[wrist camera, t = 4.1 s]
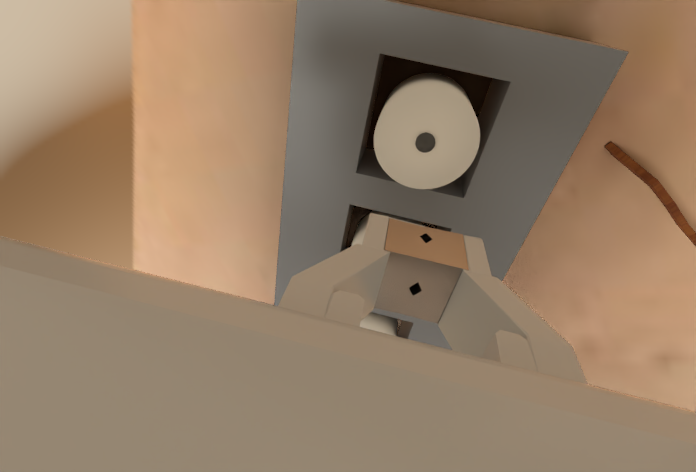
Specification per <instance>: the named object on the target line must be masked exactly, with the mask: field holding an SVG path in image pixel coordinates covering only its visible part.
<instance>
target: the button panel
mask: <svg viewBox="0 0 696 472" xmlns="http://www.w3.org/2000/svg"><path fill="white" fill-rule="evenodd" d="M627 54H628V51H624V50H620V49H617V48H613V47H610V46H606V45H602V44H599V43H595V42H592V41H587V40H582V39H577V38H572V37H568V36H563V35H558V34H553V33H549V32H544V31H539V30H534V29H529V28H525V27H520V26H515V25H510V24H506V23H501V22H496V21H491V20H486V19H482V18H477V17H472V16H467V15H463V14H458V13H453V12H448V11H443V10H439V9H434V8H429V7H424V6H420V5H415V4H410V3H405V2H400V1H396V0H297V11H296V24H295V37H294V50H293V64H292V77H291V90H290V103H289V117H288V130H287V143H286V156H285V170H284V183H283V196H282V209H281V223H280V236H279V249H278V263H277V276H276V289H275V302H274V305H275V306H278V305H279V303H280V301H281V299H282V296H283V294H284V292H285V290H286V288H287V286H288V284H289V282H290V280H291V278H292V276H294V275H296V274H298V273H300V272H302V271H304V270H306V269H308V268H310V267H312V266H314V265H316V264H318V263H320V262H322V261H324V260H326V259H328V258H330V257H332V256H334V255H336V254H338V253H339V252H341V251H343V250H345V249H347V247H345V246H346V241H347V236H348V231H349V227H350V222H351V217H352V212H353V207H354V205H355V206H359V207H363V208H367V209H371V210H376V211H380V212H384V213H388V214H392V215H396V216H400V217H405V218H409V219H413V220H417V221H421V222H425V223H430V224H434V225H438V226H437V229H439V230H444V231H449V232H453V233H458V234H463V235H467V236H472V237H477V238H481V239H482V240H483V243H484V247H485V251H486V255H487V259H488V263H489V267H490V271H491V275H492V276H493V277H497V278H498V279H500V280H501V281H502V280H503V278H504V277H505V275H506V273H507V271H508V269H509V268H510V266H511V264H512V262H513V260H514V259H515V257H516V255H517V253H518V251H519V249H520V248H521V246H522V244H523V242H524V240H525V239H526V237H527V235H528V233H529V231H530V230H531V228H532V226H533V224H534V222H535V221H536V219H537V217H538V215H539V213H540V212H541V210H542V208H543V206H544V204H545V202H546V201H547V199H548V197H549V195H550V193H551V192H552V190H553V188H554V186H555V184H556V183H557V181H558V179H559V177H560V175H561V174H562V172H563V170H564V168H565V166H566V165H567V163H568V161H569V159H570V157H571V155H572V154H573V152H574V150H575V148H576V146H577V145H578V143H579V141H580V139H581V137H582V136H583V134H584V132H585V130H586V128H587V127H588V125H589V123H590V121H591V119H592V118H593V116H594V114H595V112H596V110H597V108H598V107H599V105H600V103H601V101H602V99H603V98H604V96H605V94H606V92H607V90H608V89H609V87H610V85H611V83H612V81H613V80H614V78H615V76H616V74H617V72H618V71H619V69H620V67H621V65H622V63H623V61H624V60H625V58H626V56H627ZM385 55H389V56H394V57H399V58H403V59H408V60H412V61H417V62H422V63H426V64H431V65H435V66H440V67H445V68H449V69H454V70H458V71H463V72H468V73H472V74H477V75H481V76H486V77H491V78H493V79H492V81H491V84H490V87H489V89H488V92H487V95H486V97H485V100H484V103H483V105H482V108H481V111H480V113H479V116H478V123H479V127H480V143H479V148H478V151H477V154H476V156H475V158H474V160H473V162H472V164H471V165H470V167H469V168H468V169H467V170H466V171H465V172H464V173H463V174H462V175H461V176H460V177H458V178H457V179H456V180H454V181H452V182H451V183H449V184H447V185H444V186H441V187H438V188H433V189H415V188H410V187H407V186H404V185H402V184H400V183H398V182H396V181H395V180H393V179H392V178H391V177H389V175H388V174H387V173H386V172H385V171H384V170H383V169H382V167H381V166H380V164H379V162H378V160H377V157H376V154H375V150H373V149H369V148H366V144H367V140H368V135H369V130H370V125H371V120H372V115H373V110H374V106H375V101H376V96H377V91H378V86H379V81H380V77H381V72H382V67H383V62H384V57H385ZM371 312H373V313H377V314H380V315H384V316H388V317H392V318H396V319H400V320H402V322H401V325H400V328H399V330H398V333H397V336H398V337H402V338H406V339H410V340H414V341H418V342H422V343H426V344H430V345H434V346H437V347H441V348H445V349H449V350H452V348H451V346H450V345H449V343H448V341H447V340H446V338H445V336H444V335H443V333H442V331H441V330H440V328H439V326H438V324H437V323H433V322H429V321H426V320H422V319H419V318H415V317H411V316H408V315H404V314H399V313H395V312H390V311H386V310H381V309H377V308H374V309H373V310H372V311H371Z"/></svg>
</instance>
